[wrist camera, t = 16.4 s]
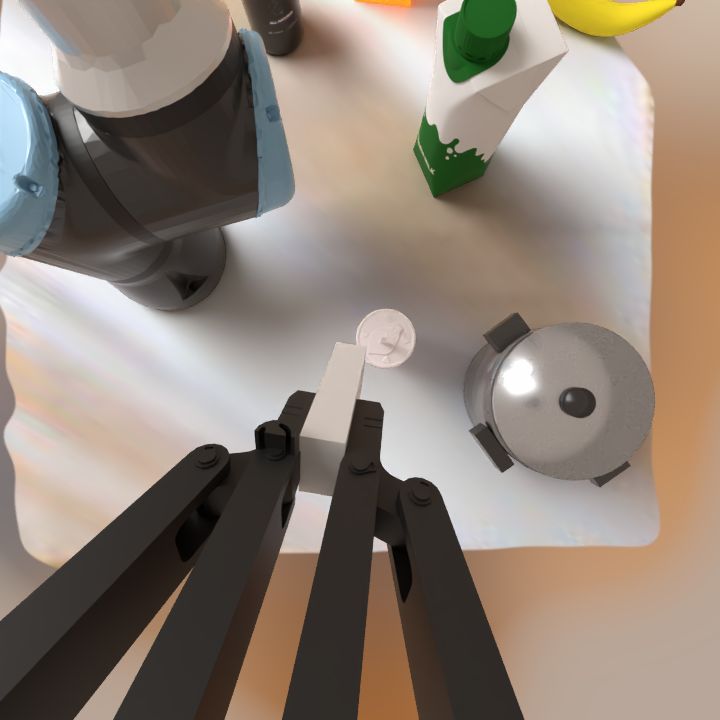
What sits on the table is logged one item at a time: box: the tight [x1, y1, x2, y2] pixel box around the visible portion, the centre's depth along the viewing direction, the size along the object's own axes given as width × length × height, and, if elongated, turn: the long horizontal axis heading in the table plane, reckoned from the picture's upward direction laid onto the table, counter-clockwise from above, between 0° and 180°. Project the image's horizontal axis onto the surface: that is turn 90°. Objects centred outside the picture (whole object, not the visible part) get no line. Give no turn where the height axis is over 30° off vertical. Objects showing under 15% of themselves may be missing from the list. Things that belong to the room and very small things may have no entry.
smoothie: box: [356, 309, 416, 369], centre depth 37 cm, size 6×6×14 cm
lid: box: [491, 323, 655, 480], centre depth 33 cm, size 16×16×2 cm
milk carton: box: [413, 0, 569, 197], centre depth 33 cm, size 9×9×20 cm
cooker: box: [463, 312, 630, 487], centre depth 39 cm, size 18×21×9 cm
